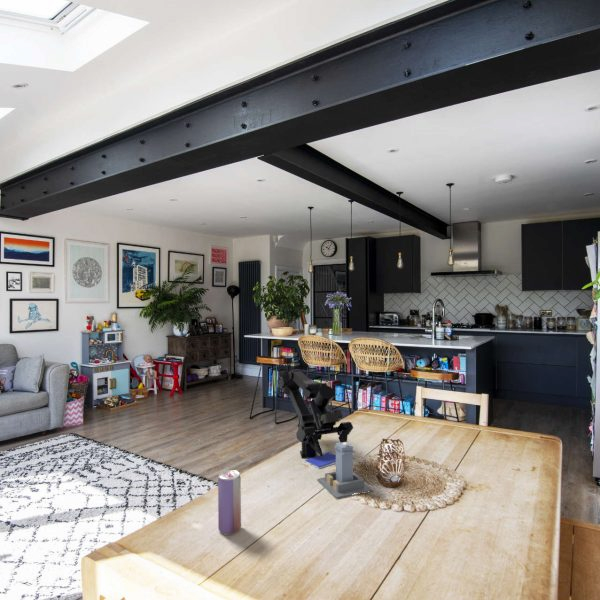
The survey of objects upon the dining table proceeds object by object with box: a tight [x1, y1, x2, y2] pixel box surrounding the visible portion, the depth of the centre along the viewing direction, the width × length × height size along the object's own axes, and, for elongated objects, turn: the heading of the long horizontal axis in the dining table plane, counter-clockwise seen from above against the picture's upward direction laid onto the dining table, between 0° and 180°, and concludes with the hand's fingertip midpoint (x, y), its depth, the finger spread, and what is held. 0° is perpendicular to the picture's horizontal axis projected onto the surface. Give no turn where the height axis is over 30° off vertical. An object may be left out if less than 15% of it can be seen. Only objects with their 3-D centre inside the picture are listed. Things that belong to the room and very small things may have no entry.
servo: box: [333, 441, 356, 483], centre depth 142 cm, size 7×4×14 cm, turn 22°
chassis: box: [316, 471, 374, 500], centre depth 142 cm, size 14×13×3 cm
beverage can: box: [217, 469, 242, 536], centre depth 116 cm, size 6×6×15 cm
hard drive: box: [303, 451, 336, 470], centre depth 163 cm, size 2×8×12 cm
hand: (334, 454), depth 149 cm, fingers open, 9 cm apart
